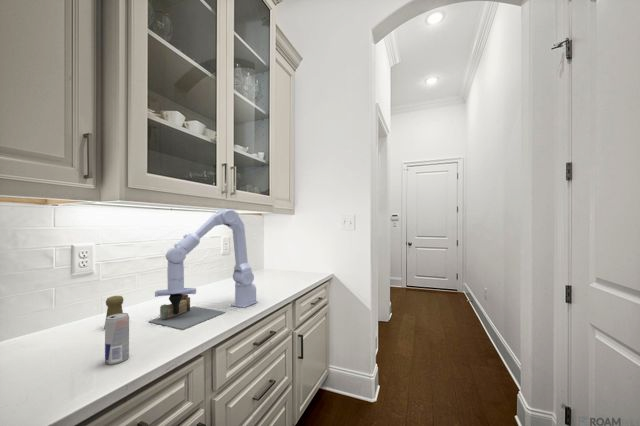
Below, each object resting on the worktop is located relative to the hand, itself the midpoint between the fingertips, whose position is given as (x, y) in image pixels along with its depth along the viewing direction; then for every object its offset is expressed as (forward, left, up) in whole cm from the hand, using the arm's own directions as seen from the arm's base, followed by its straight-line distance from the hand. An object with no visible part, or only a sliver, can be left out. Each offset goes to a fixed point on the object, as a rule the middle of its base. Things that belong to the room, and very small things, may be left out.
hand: (176, 313), depth 108 cm
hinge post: (-7, -5, -2) cm, 9 cm away
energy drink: (+29, +14, -2) cm, 32 cm away
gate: (-2, -3, -1) cm, 4 cm away
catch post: (+2, -5, -2) cm, 6 cm away
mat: (-3, +3, -2) cm, 5 cm away
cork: (+15, -14, -2) cm, 20 cm away
